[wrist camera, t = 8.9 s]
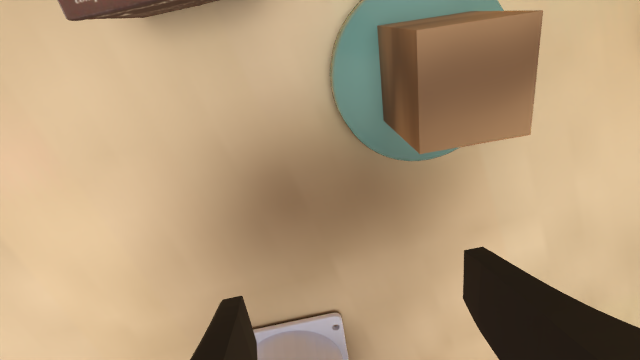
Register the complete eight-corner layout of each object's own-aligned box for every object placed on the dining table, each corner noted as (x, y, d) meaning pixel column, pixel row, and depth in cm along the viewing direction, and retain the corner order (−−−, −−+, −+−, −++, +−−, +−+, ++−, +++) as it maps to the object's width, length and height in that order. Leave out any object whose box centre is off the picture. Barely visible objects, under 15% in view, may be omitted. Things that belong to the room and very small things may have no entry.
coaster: (489, 133, 22) (508, 143, 21) (340, 161, 22) (347, 175, 20) (495, -40, 19) (520, -46, 17) (316, -10, 18) (321, -12, 16)
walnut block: (468, 106, 19) (530, 134, 15) (383, 120, 19) (419, 154, 15) (471, 11, 18) (542, 10, 13) (377, 25, 17) (416, 30, 13)
